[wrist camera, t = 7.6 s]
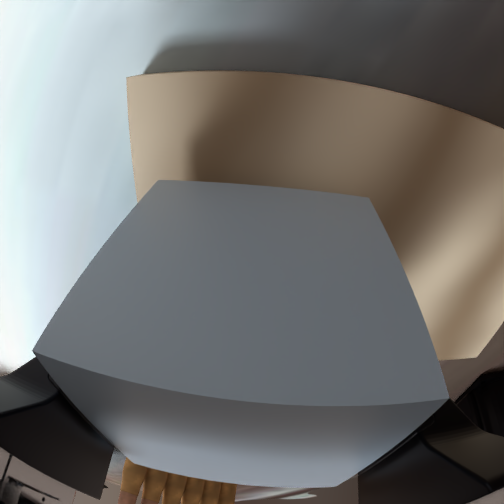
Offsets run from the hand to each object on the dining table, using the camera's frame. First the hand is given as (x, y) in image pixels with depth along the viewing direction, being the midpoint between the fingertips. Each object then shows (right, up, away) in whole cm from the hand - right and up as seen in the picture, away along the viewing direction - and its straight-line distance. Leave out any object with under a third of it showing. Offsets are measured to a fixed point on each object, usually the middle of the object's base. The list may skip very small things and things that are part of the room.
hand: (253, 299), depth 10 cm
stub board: (+5, +2, +3) cm, 6 cm away
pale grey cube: (0, +1, +1) cm, 1 cm away
